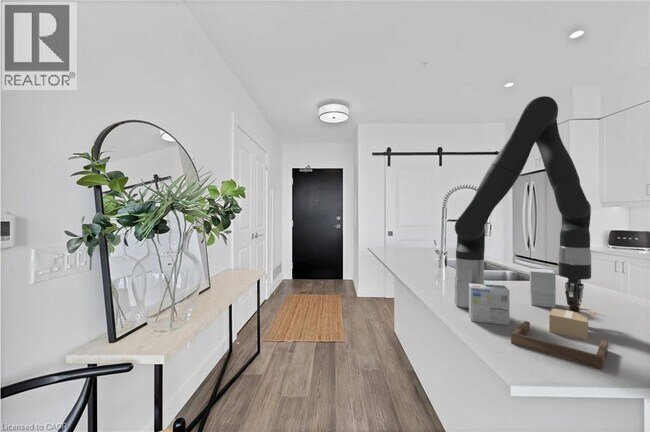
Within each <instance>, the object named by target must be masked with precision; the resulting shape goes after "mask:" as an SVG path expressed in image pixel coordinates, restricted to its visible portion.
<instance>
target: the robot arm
mask: <svg viewBox="0 0 650 432" xmlns="http://www.w3.org/2000/svg"><path fill="white" fill-rule="evenodd" d="M558 113H559V107H558V104H557V101H556V100H555V99H554V98H552V97H551V96H546V95H545V96H544V95H543V96H539V97H536V98H534V99H532V100H531V101H529V102H528V103H527V104H526V105H525V107H524V108H523V109H522V112H521V114H520V116H519V119H518V121H517V122H516V125H515V127H514V129H513V131H512V132H511V135H510V136H509V138H508V139H507V140H506V142H505V144H504V145H503V146H502V148H501V150H500V151H499V152H498V154H497V155H496V157H495V158H494V160H493V161H492V163H491V165H490V166H489V168H488V169H487V171H486V173H485V174H484V177H483V179H481V182H480V183H479V186H478V188H477V190H476V193H475V195H474V197H473V198H472V200H471V201H470V203H469V204H468V206H467V207H466V208H465V209H464V211H463V212H462V213H461V215H460V216H459V217H458V218H457V219H456V221H455V224H454V231H455V234H456V236H457V238H456V241H457V242H456V249H455V277H454V303H455V305H456V307H457V308H458V307H459V308H463V309H468V310H469V283H472V284H485V248H486V246H485V245H486V240H485V239H486V227H485V226H486V224H487V222H488V220H489V219H490V216H491V214H492V212H493V211H494V209H495V208H496V207H497V206H498V204H499V203H500V202H501V201H503V199H504V198H505V197H506V196H507V194H508V193H509V191H511V189H512V188H513V186H514V184H515V183H516V182H517V180H518V178H519V177H520V175H521V174H522V171H523V170H524V168H525V166H526V164H527V162H528V159H529V156H530V154H531V151H532V149H533V147H534V145H535V144H536V146H537V148H538V150H539V153H540V157H541V160H542V163H543V167H544V169H545V173H546V175H547V179H548V181H549V184H550V185H551V188H552V190H553V194H554V198H555V202H556V205H557V208H558V209H557V210H558V211H559V213H560V214H561V229H560V232H559V250H558V275H559V276H560V277H563V278H566V279H567V281H566V282H565V284H564V288H565V292H564V293H565V299H566V303H567V306H569V307H568V309H569V311H573V312H577V313H581V312H580V311H581V310H580V308H581V306H582V301H583V300H582V299H583V297H584V295H583V293H584V291H583V290H584V289H585V284H584V283H582V280H590V279H591V278H592V252H591V234H590V225H591V214H592V211H591V210H592V208H591V203H590V202H589V200H588V199H587V197H586V195H585V192H584V190H583V187H582V185H581V181H580V180H581V179H580V176H579V174H578V171H577V169H576V166H575V164H574V162H573V159H572V157H571V156H570V153H569V152H568V150H567V148H566V146H565V145H564V143H563V141H562V139H561V136H560V133H559V126H558V115H559V114H558Z"/></svg>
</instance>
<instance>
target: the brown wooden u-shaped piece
mask: <svg viewBox="0 0 650 432" xmlns="http://www.w3.org/2000/svg"><path fill="white" fill-rule="evenodd" d="M530 326H531V325H530V321H527V320H525V321H523V323H522V324H520V325H519V326H518V327H517V328H516V329H514V330H513V331H512V332H511V333H510V343H511V344H513V345H517V346H519V345H520V347H523V346H524V348H526V347H528V348H527V349H530V348H531V349H530V350H533V349H534V351H537V352H540V353H543V354H548V355H551V356H555V357H558V358H561V359H564V360H569V361H571V362H575V363H579V364H583V365H586V366H588V367H593V368H594V369H595V368H596V369H599V370H603V367H604V364H605V361H606V358H607V354H608V349H609V345H608V343H609V342H608V341H609V340H608V339H603V338H602V339H601V341H600V344H599V346H598V349H597V352H596V354H595V353H592V352H588V351H585V350H580V349H576V348H572V347H570V346H566V345H561V344H557V343H554V342H551V341H547V340H543V339H539V338H534V337H532V336H527V334H528V333H529V332H530V331H531V329H530V328H531V327H530ZM525 334H526V335H525ZM524 335H525V336H524ZM605 357H606V358H605Z"/></svg>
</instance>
